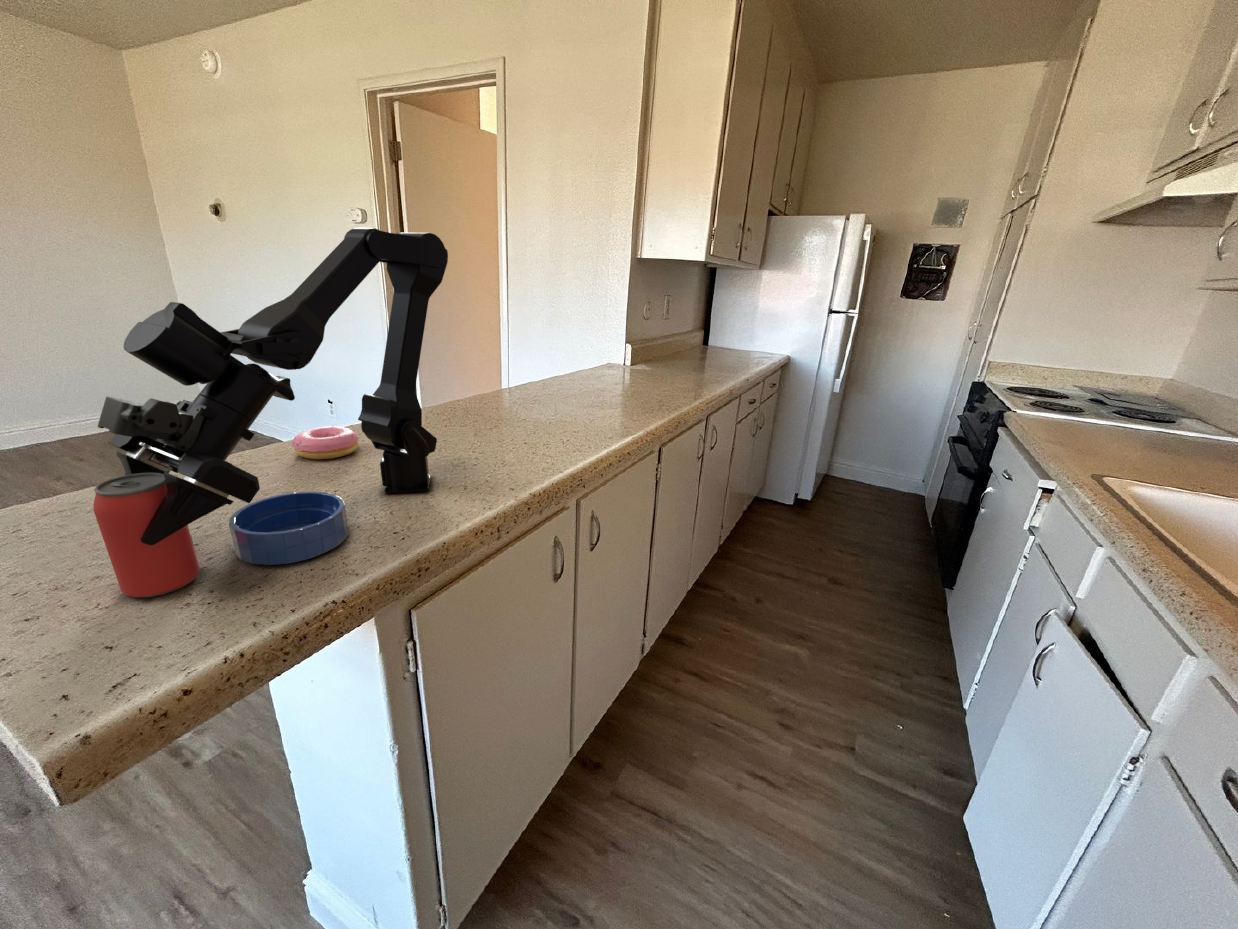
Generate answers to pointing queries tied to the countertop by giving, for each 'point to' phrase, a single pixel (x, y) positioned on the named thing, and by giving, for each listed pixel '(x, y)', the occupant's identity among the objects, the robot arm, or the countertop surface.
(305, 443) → the doughnut
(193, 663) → the countertop surface
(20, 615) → the countertop surface
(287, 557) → the bowl
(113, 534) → the beer can
